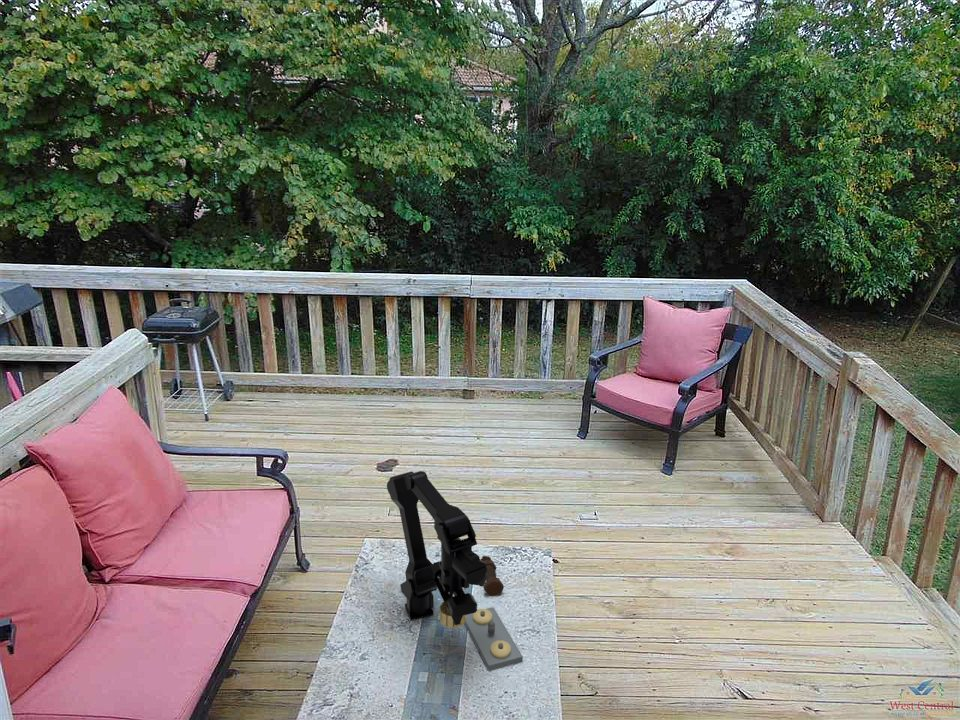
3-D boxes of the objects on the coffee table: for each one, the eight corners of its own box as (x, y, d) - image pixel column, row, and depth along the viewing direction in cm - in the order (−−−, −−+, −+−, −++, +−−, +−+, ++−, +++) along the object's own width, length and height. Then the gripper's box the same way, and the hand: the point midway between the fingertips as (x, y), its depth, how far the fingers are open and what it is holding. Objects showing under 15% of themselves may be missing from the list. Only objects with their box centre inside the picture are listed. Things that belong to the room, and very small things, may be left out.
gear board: (488, 670, 159) (489, 652, 157) (462, 619, 176) (462, 601, 174) (522, 661, 162) (523, 643, 160) (493, 611, 179) (493, 594, 177)
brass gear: (444, 630, 158) (444, 618, 157) (436, 613, 164) (436, 602, 163) (469, 624, 161) (469, 612, 159) (460, 608, 166) (460, 596, 165)
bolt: (487, 569, 200) (496, 600, 186) (473, 563, 199) (481, 593, 184) (497, 554, 199) (506, 584, 185) (483, 548, 198) (491, 577, 183)
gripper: (498, 577, 152) (497, 632, 156) (471, 535, 168) (470, 586, 173) (453, 587, 148) (452, 644, 153) (429, 543, 165) (430, 595, 169)
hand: (452, 615), depth 162 cm, fingers closed on brass gear, 6 cm apart
